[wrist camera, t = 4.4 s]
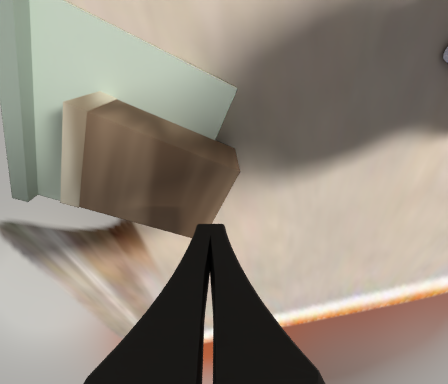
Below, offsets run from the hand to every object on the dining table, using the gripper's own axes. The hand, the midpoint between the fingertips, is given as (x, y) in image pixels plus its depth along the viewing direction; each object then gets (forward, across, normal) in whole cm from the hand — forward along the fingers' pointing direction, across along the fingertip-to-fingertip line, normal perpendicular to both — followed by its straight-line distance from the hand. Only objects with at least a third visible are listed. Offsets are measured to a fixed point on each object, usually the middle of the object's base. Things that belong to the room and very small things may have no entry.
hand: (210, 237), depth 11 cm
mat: (+7, +6, -3) cm, 10 cm away
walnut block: (+4, 0, 0) cm, 4 cm away
